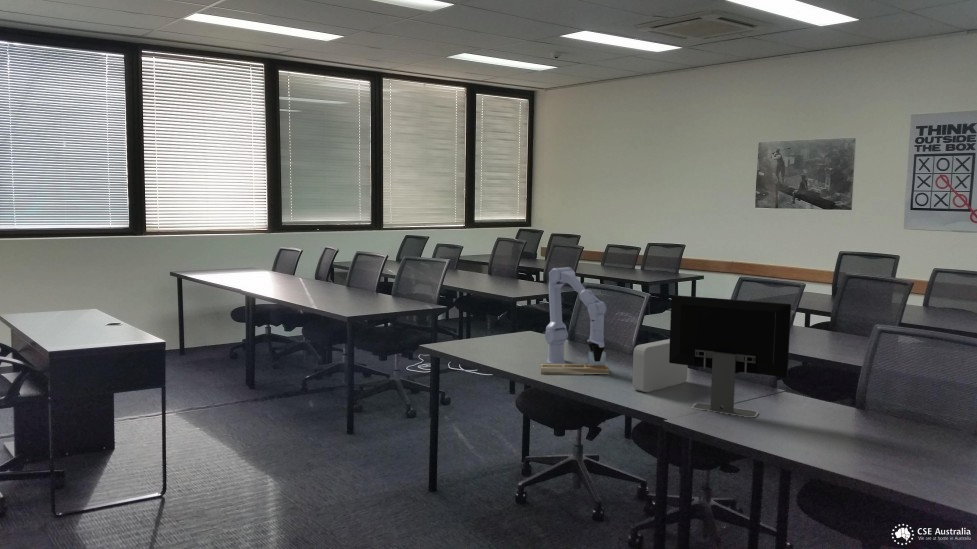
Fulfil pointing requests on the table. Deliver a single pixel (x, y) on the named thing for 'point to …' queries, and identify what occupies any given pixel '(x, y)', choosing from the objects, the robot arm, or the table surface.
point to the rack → (572, 369)
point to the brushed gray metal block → (592, 361)
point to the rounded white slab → (656, 367)
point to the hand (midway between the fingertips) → (596, 360)
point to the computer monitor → (729, 342)
